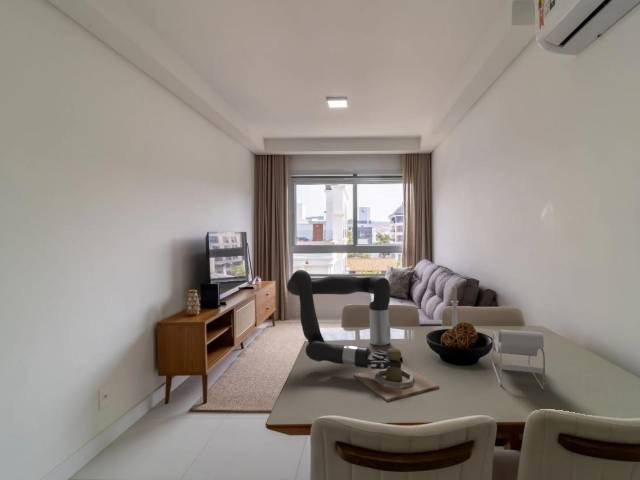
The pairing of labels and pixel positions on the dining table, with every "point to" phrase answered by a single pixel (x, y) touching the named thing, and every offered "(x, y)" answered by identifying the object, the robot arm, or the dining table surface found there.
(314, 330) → the robot arm
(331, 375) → the dining table surface
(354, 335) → the dining table surface
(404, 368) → the collar holder
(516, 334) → the chair
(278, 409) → the dining table surface
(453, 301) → the candlestick
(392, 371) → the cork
